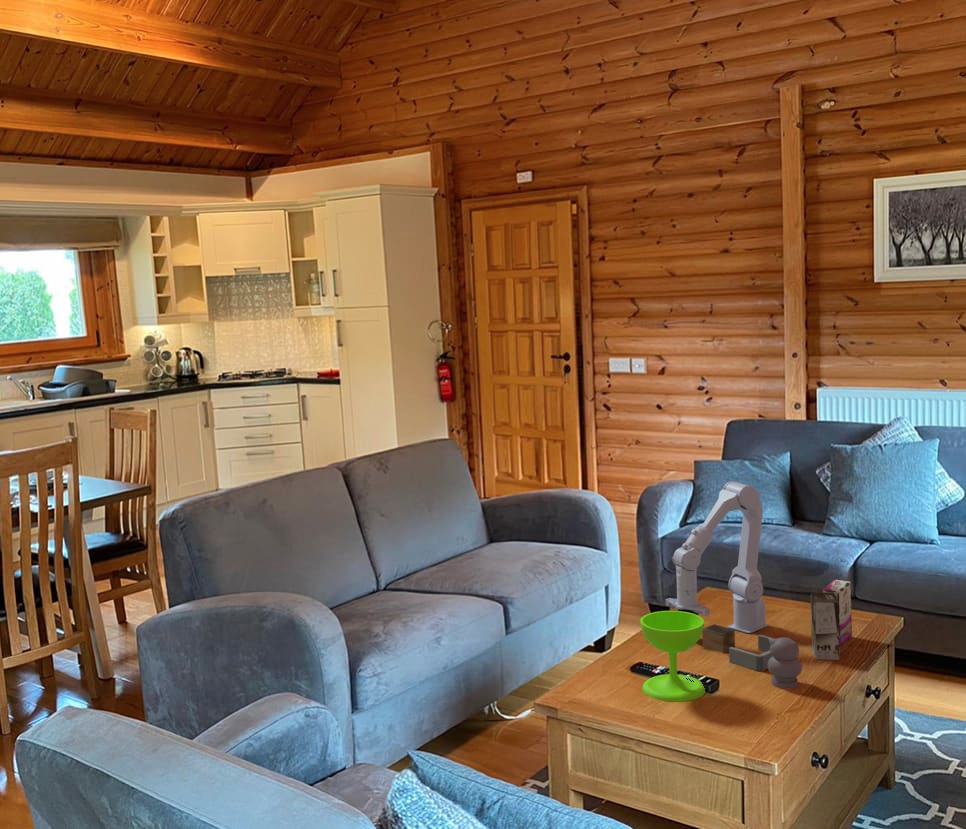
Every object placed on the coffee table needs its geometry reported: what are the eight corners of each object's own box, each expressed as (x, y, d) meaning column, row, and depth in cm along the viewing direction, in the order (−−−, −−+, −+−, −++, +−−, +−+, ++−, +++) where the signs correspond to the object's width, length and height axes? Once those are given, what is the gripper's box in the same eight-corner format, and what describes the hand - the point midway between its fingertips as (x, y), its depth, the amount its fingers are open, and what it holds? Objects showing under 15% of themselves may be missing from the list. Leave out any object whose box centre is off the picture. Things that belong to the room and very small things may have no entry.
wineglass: (630, 683, 252) (628, 616, 250) (683, 672, 258) (681, 607, 256) (663, 706, 237) (660, 635, 235) (718, 694, 243) (716, 624, 241)
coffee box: (840, 660, 261) (839, 602, 259) (815, 659, 262) (814, 602, 260) (835, 648, 270) (834, 592, 268) (810, 647, 271) (810, 591, 269)
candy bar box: (834, 633, 281) (834, 578, 279) (852, 636, 278) (851, 581, 276) (822, 645, 272) (821, 589, 270) (840, 648, 269) (839, 591, 267)
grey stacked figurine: (805, 680, 248) (805, 635, 247) (798, 692, 242) (798, 645, 240) (772, 675, 253) (771, 631, 251) (764, 686, 246) (763, 641, 245)
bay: (760, 648, 272) (760, 634, 272) (791, 657, 265) (791, 643, 264) (729, 662, 263) (728, 647, 263) (760, 671, 256) (760, 657, 255)
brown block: (714, 642, 279) (714, 624, 279) (734, 648, 274) (734, 629, 273) (702, 647, 276) (702, 629, 275) (722, 653, 270) (722, 634, 270)
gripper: (658, 587, 285) (659, 631, 286) (698, 597, 274) (699, 643, 275) (674, 581, 289) (675, 625, 291) (713, 591, 278) (714, 637, 280)
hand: (688, 634), depth 283 cm, fingers closed
